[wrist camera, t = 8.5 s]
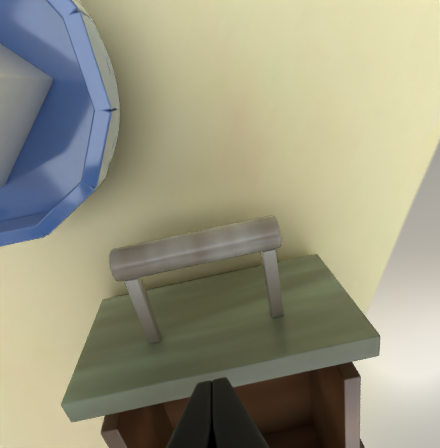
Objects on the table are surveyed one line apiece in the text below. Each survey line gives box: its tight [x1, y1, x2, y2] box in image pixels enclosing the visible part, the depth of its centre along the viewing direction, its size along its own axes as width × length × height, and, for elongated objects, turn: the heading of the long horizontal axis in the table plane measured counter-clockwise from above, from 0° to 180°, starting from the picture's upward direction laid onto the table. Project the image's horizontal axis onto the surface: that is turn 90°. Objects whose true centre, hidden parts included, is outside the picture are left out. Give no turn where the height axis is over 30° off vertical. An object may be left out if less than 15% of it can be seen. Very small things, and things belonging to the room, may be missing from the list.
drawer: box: [61, 215, 380, 448], centre depth 18 cm, size 21×13×7 cm, turn 11°
